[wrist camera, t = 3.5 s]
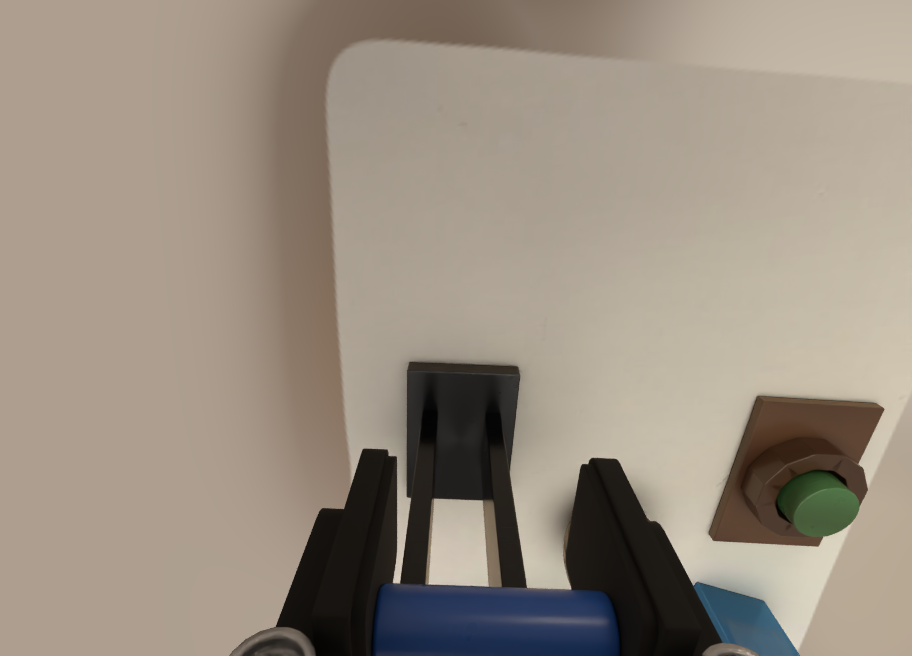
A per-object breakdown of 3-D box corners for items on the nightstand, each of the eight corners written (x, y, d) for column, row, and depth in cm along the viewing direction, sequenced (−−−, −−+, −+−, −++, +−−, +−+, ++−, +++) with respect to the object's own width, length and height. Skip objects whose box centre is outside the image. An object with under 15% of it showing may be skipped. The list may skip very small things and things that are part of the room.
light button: (788, 467, 30) (806, 486, 29) (848, 471, 30) (870, 490, 29) (768, 515, 32) (784, 535, 30) (826, 518, 32) (845, 539, 30)
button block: (757, 395, 31) (781, 417, 28) (876, 402, 31) (910, 424, 29) (708, 534, 35) (725, 561, 33) (812, 539, 36) (837, 567, 33)
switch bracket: (408, 361, 30) (348, 637, 13) (518, 366, 30) (590, 645, 14) (408, 486, 34) (360, 819, 17) (505, 489, 34) (549, 825, 17)
